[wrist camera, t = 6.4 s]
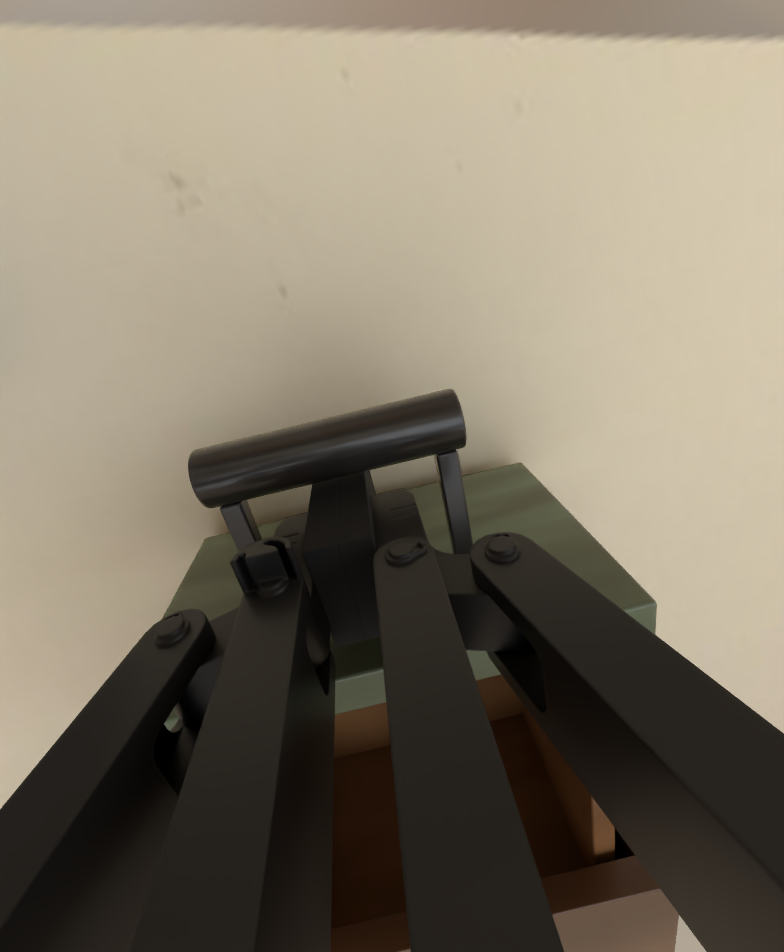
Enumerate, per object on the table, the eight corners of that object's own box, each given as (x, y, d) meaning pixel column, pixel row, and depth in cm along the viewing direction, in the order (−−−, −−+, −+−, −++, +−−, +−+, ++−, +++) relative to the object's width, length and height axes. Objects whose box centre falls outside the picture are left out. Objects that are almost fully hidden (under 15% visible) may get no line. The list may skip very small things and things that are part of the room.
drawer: (149, 420, 17) (-42, 558, 8) (508, 334, 17) (669, 387, 8) (306, 753, 25) (287, 987, 17) (545, 696, 25) (643, 900, 17)
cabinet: (278, 699, 24) (232, 992, 14) (543, 635, 24) (683, 883, 14) (351, 853, 31) (355, 1127, 21) (559, 802, 31) (662, 1052, 21)
